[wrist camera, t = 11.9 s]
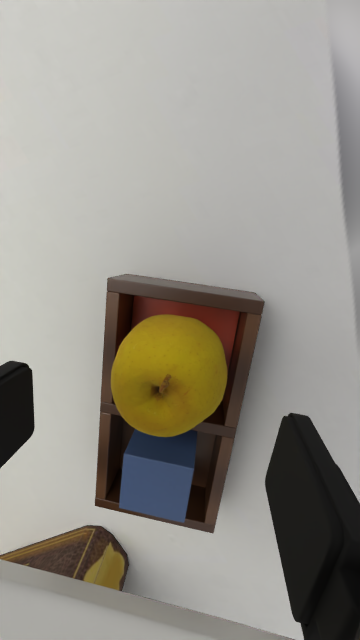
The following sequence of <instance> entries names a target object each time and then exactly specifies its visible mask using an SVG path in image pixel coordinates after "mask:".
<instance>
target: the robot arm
mask: <svg viewBox="0 0 360 640" xmlns="http://www.w3.org/2000/svg"><path fill="white" fill-rule="evenodd" d="M33 431H34V404H33V380H32V370H31V369H30V368H29V366H28V364H26V363H21V362H15V361H9V362H7V363H5V364H3V365H1V366H0V468H1V467H2V466H3V465H4V464H5V463H6V462H7V461H8V460H9V459H10V458H11V457H12V456H13V455H14V454H15V453H16V452H17V450H18V449H19V448H20V447H21V446H22V445H23V444H24V443H25V442H26V441H27V440H28V439H29V438H30V437H31V436H32V434H33ZM265 486H266V492H267V497H268V501H269V506H270V511H271V516H272V520H273V525H274V530H275V534H276V539H277V544H278V549H279V553H280V558H281V563H282V567H283V572H284V577H285V582H286V586H287V591H288V596H289V601H290V605H291V610H292V614H293V617H294V619H295V621H296V622H300V623H301V627H302V631H303V636H304V640H360V503H359V501H358V500H357V498H356V496H355V494H354V493H353V491H352V489H351V487H350V486H349V484H348V482H347V480H346V479H345V477H344V475H343V473H342V471H341V470H340V468H339V467H338V466H337V464H335V462H334V460H333V459H332V457H331V455H330V453H329V452H328V450H327V448H326V446H325V444H324V443H323V441H322V439H321V437H320V435H319V434H318V432H317V430H316V428H315V426H314V425H313V423H312V421H311V419H310V418H309V417H308V416H305V415H300V414H295V413H290V414H289V415H288V417H287V416H284V417H283V418H282V421H281V425H280V428H279V432H278V435H277V439H276V442H275V446H274V449H273V453H272V456H271V460H270V463H269V467H268V470H267V474H266V479H265ZM0 640H294V639H291V638H287V637H284V636H281V635H277V634H274V633H270V632H267V631H264V630H260V629H257V628H253V627H250V626H246V625H243V624H240V623H236V622H233V621H229V620H226V619H222V618H219V617H215V616H211V615H208V614H204V613H200V612H197V611H193V610H189V609H185V608H182V607H178V606H174V605H171V604H167V603H163V602H159V601H156V600H152V599H148V598H145V597H141V596H137V595H133V594H130V593H126V592H122V591H119V590H115V589H111V588H107V587H104V586H100V585H96V584H92V583H88V582H85V581H81V580H77V579H73V578H70V577H66V576H62V575H58V574H54V573H51V572H47V571H43V570H39V569H35V568H31V567H28V566H24V565H20V564H16V563H12V562H9V561H5V560H1V559H0Z"/></svg>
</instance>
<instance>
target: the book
mask: <svg viewBox="0 0 360 640" xmlns="http://www.w3.org/2000/svg"><path fill="white" fill-rule="evenodd" d="M0 559H1V560H5V561H9V562H12V563H16V564H20V565H24V566H28V567H31V568H35V569H39V570H43V571H47V572H51V573H54V574H58V575H62V576H66V577H70V578H73V579H77V580H81V581H85V582H88V583H92V584H96V585H100V586H104V587H107V588H111V589H115V590H119V591H122V588H123V585H124V581H125V577H126V574H127V570H128V566H129V563H128V559H127V555H126V553H125V552H124V550H123V549H122V548H121V546H120V545H119V543H118V542H117V541H116V539H115V538H114V537H113V535H112V534H111V533H109V532H108V531H106V530H105V529H104V528H102V527H101V526H85V527H82V528H79V529H76V530H73V531H70V532H67V533H64V534H61V535H59V536H56V537H53V538H50V539H47V540H44V541H41V542H38V543H35V544H32V545H29V546H26V547H24V548H21V549H18V550H15V551H12V552H9V553H6V554H3V555H0Z"/></svg>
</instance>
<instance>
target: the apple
mask: <svg viewBox="0 0 360 640" xmlns="http://www.w3.org/2000/svg"><path fill="white" fill-rule="evenodd" d="M226 384H227V365H226V360H225V354H224V349H223V346H222V343H221V341H220V339H219V337H218V336H217V334H216V333H215V332H214V331H213V330H212V329H211V328H209V327H208V326H207V325H205V324H204V323H202V322H201V321H199V320H198V319H194V318H190V317H184V316H177V315H169V314H164V315H156V316H152V317H149V318H147V319H145V320H143V321H142V322H140V323H139V324H138V325H137V326H135V327H134V328H133V329H132V330H131V332H130V333H129V334H128V335H127V336H126V337H125V339H124V340H123V341H122V343H121V344H120V347H119V349H118V352H117V355H116V357H115V360H114V363H113V366H112V370H111V390H112V395H113V399H114V402H115V404H116V407H117V409H118V411H119V412H120V414H121V416H122V417H123V418H124V419H125V421H126V422H127V423H128V424H129V425H131V426H132V427H134V428H135V429H137V430H138V431H141V432H143V433H146V434H149V435H153V436H158V437H172V436H176V435H179V434H182V433H184V432H187V431H189V430H190V429H192V428H194V427H195V426H196V425H198V424H199V423H201V422H202V421H204V419H206V418H207V417H209V416H210V415H211V414H212V413H213V412H214V411H215V410H216V408H217V407H218V405H219V404H220V402H221V400H222V398H223V395H224V392H225V388H226Z"/></svg>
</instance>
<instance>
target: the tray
mask: <svg viewBox="0 0 360 640" xmlns="http://www.w3.org/2000/svg"><path fill="white" fill-rule="evenodd" d="M264 303H265V302H264V301H263V300H262V299H261V298H260V297H259V296H258V295H257V294H256V293H254V292H247V291H240V290H233V289H227V288H220V287H213V286H206V285H199V284H193V283H186V282H179V281H172V280H165V279H159V278H152V277H145V276H138V275H131V274H124V275H120V276H115V277H111V278H108V282H107V298H106V316H105V334H104V352H103V369H102V387H101V406H100V426H99V444H98V462H97V480H96V498H95V506H98V507H102V508H107V509H111V510H115V511H119V512H124V513H128V514H132V515H137V516H141V517H145V518H149V519H154V520H158V521H162V522H166V523H171V524H175V525H179V526H184V527H188V528H192V529H196V530H201V531H205V532H209V533H214V528H215V524H216V519H217V515H218V510H219V506H220V501H221V497H222V492H223V488H224V483H225V479H226V474H227V470H228V465H229V461H230V456H231V452H232V447H233V443H234V438H235V433H236V429H237V425H238V420H239V416H240V411H241V407H242V402H243V397H244V393H245V388H246V384H247V379H248V375H249V370H250V366H251V361H252V357H253V352H254V348H255V343H256V339H257V334H258V330H259V325H260V321H261V315H262V312H263V307H264ZM164 314H169V315H177V316H184V317H190V318H194V319H198V320H199V321H201V322H202V323H204V324H205V325H207V326H208V327H209V328H211V329H212V330H213V331H214V332H215V333H216V334H217V336H218V337H219V339H220V341H221V343H222V346H223V349H224V354H225V360H226V365H227V384H226V388H225V392H224V395H223V398H222V400H221V402H220V404H219V405H218V407H217V408H216V410H215V411H214V412H213V413H212V414H211V415H210V416H209V417H207V418H206V419H204V421H202V422H201V423H199V424H198V425H196V426H195V427H194V428H192V429H190V430H194V431H198V432H197V443H196V454H195V465H194V472H193V478H192V483H191V489H190V495H189V500H188V506H187V511H186V517H185V522H184V523H182V522H177V521H173V520H169V519H164V518H160V517H156V516H152V515H147V514H143V513H139V512H134V511H130V510H126V509H121V508H119V502H120V491H121V480H122V468H123V457H124V452H125V450H126V448H127V446H128V444H129V441H130V439H131V437H132V435H133V432H134V430H135V428H134V427H132V426H131V425H129V424H128V423H127V422H126V421H125V419H124V418H123V417H122V416H121V414H120V412H119V411H118V409H117V407H116V404H115V402H114V399H113V395H112V390H111V370H112V366H113V363H114V360H115V357H116V355H117V352H118V349H119V347H120V344H121V343H122V341H123V340H124V339H125V337H126V336H127V335H128V334H129V333H130V332H131V330H132V329H133V328H134V327H135V326H137V325H138V324H139V323H140V322H142V321H143V320H145V319H147V318H149V317H152V316H156V315H164Z"/></svg>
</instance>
